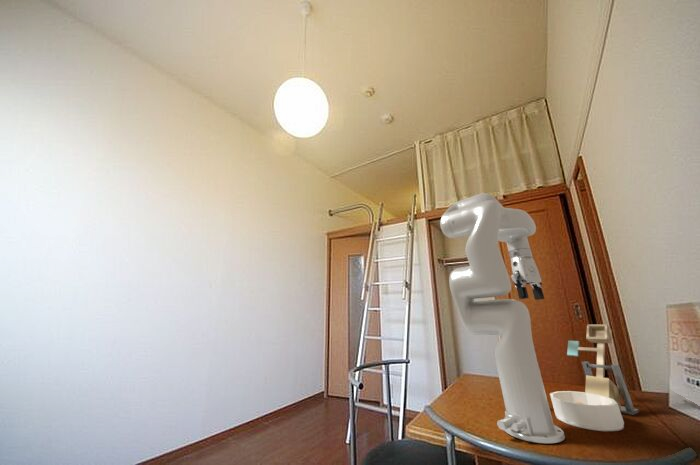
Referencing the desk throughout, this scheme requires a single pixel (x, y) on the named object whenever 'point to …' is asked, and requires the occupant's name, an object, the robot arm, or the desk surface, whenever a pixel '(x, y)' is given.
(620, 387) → the pivot stand
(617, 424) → the bowl
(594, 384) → the lever
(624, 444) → the desk surface
